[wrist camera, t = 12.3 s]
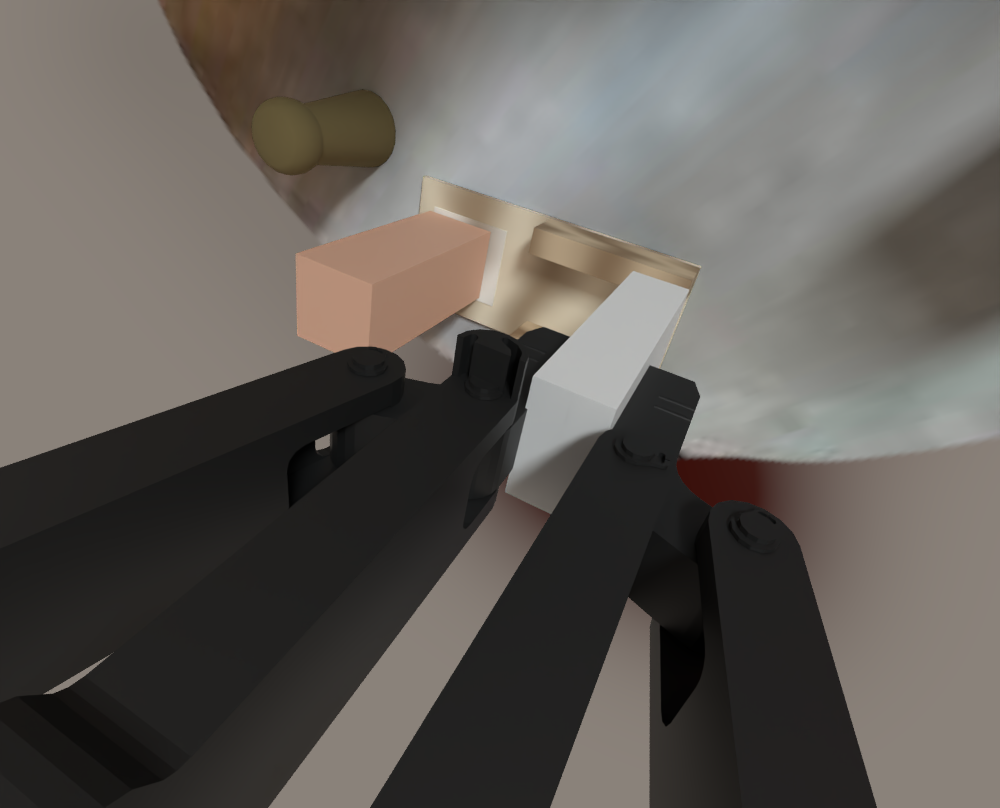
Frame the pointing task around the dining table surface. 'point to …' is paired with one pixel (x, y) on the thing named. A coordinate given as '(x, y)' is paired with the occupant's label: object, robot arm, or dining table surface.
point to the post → (388, 282)
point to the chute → (545, 264)
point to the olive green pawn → (324, 132)
